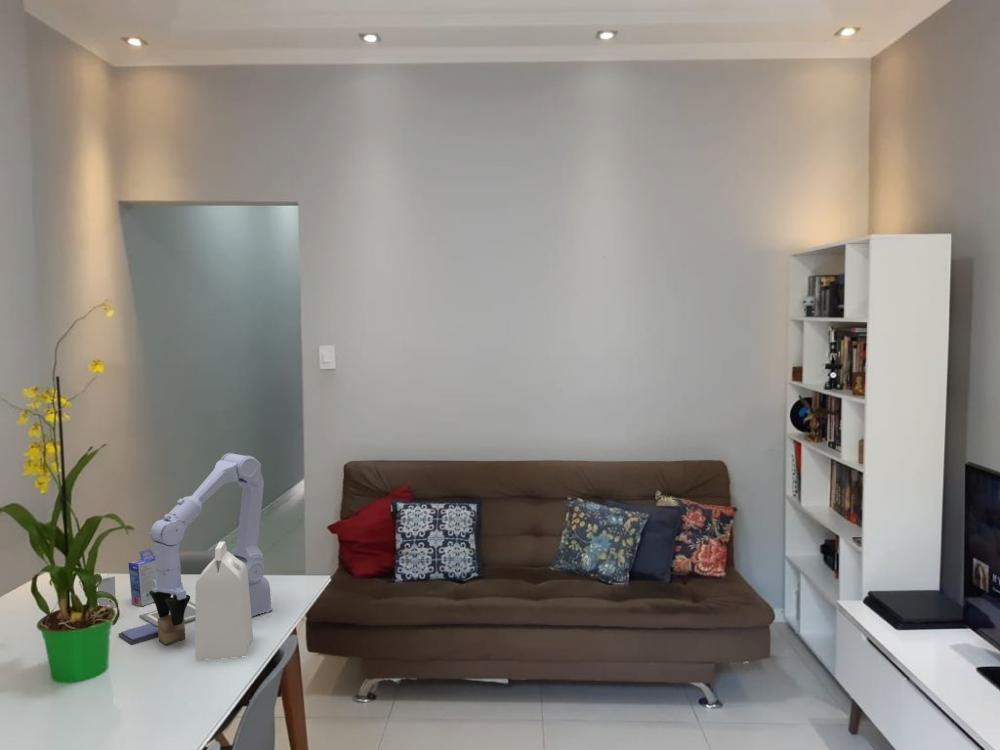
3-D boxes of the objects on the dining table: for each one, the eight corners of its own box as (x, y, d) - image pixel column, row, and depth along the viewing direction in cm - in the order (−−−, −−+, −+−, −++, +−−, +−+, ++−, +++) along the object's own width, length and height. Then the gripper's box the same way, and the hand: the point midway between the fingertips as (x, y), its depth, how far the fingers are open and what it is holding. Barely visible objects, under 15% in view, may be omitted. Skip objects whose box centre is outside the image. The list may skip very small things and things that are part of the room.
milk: (205, 640, 199) (200, 539, 197) (253, 636, 201) (248, 536, 199) (195, 661, 188) (190, 553, 185) (245, 656, 189) (241, 550, 187)
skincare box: (92, 625, 211) (89, 580, 210) (90, 619, 215) (87, 576, 214) (117, 619, 214) (115, 576, 213) (115, 614, 218) (112, 571, 217)
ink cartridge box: (160, 593, 234) (158, 545, 233) (172, 596, 231) (169, 547, 230) (129, 603, 226) (127, 554, 225) (141, 607, 223) (138, 557, 222)
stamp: (178, 635, 203) (176, 612, 202) (185, 639, 200) (184, 616, 200) (158, 641, 199) (157, 618, 199) (165, 646, 197) (164, 622, 196)
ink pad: (149, 627, 209) (149, 622, 209) (163, 635, 203) (163, 630, 203) (118, 636, 203) (118, 632, 203) (131, 645, 197) (131, 640, 197)
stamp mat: (189, 603, 226) (189, 600, 226) (212, 615, 216) (212, 612, 216) (139, 617, 215) (139, 614, 215) (162, 630, 206) (161, 628, 206)
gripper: (139, 565, 200) (142, 617, 201) (165, 578, 190) (167, 632, 191) (167, 559, 205) (169, 610, 206) (193, 570, 196) (195, 624, 197)
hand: (170, 620), depth 199 cm, fingers open, 7 cm apart
